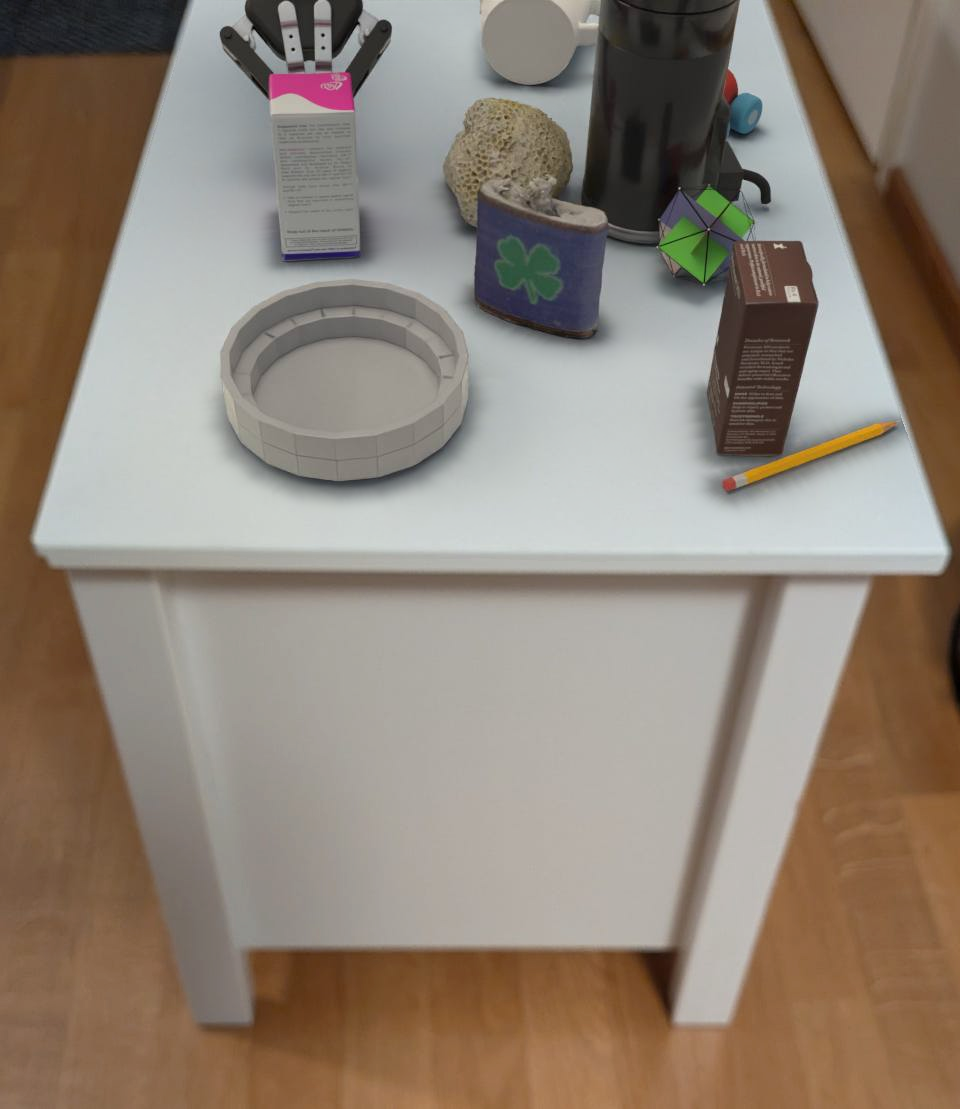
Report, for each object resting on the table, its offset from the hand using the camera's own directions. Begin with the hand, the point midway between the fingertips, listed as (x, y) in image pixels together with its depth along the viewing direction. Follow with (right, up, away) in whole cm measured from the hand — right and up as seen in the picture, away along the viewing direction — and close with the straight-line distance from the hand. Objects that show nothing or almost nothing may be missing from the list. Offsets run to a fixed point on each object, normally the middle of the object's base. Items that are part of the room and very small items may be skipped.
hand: (318, 159), depth 92 cm
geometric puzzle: (+30, -4, -7) cm, 31 cm away
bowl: (+3, -19, -11) cm, 22 cm away
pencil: (+32, -22, -14) cm, 42 cm away
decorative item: (+14, -2, +5) cm, 15 cm away
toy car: (+29, +7, +13) cm, 33 cm away
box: (+28, -21, -12) cm, 37 cm away
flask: (+16, -12, -5) cm, 20 cm away
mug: (+18, +15, +20) cm, 30 cm away
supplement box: (0, -6, +1) cm, 6 cm away
